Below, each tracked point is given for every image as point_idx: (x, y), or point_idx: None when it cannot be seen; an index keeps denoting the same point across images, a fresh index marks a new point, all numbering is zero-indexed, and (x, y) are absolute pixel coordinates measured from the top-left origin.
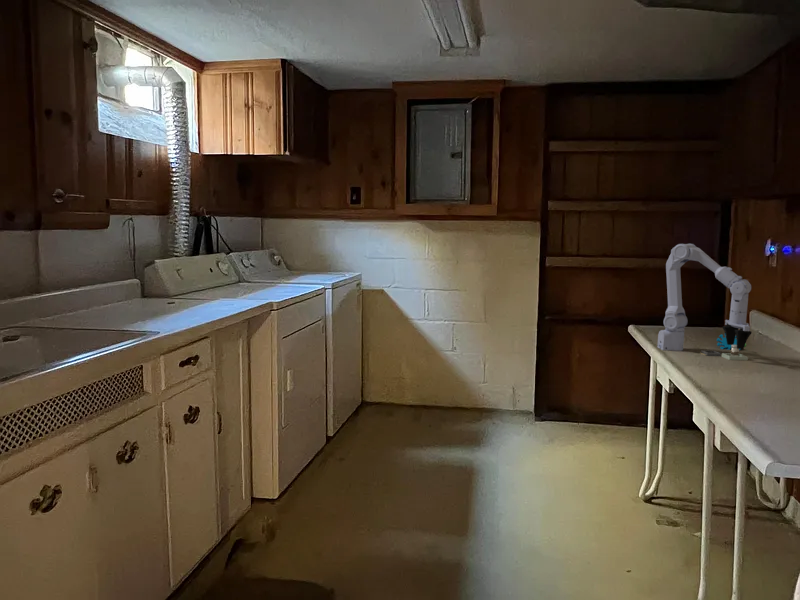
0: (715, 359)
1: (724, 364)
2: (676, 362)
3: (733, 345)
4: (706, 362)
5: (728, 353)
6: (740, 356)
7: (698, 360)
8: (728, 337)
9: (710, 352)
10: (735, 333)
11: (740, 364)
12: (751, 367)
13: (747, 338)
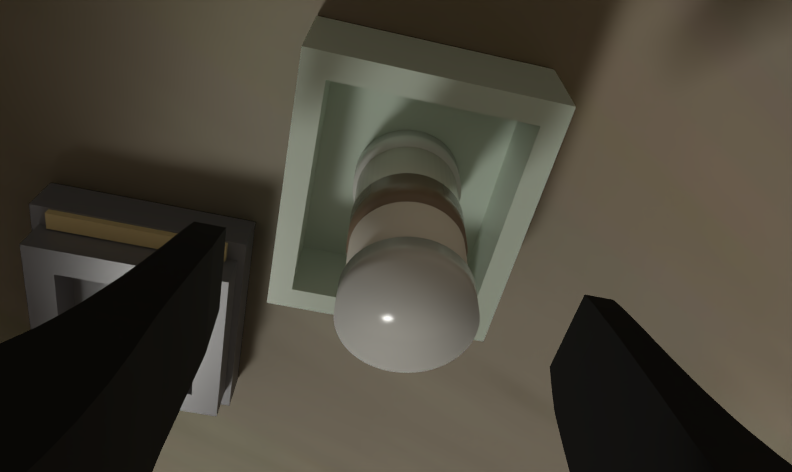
0: (269, 303)
1: (529, 371)
2: None
3: (417, 361)
4: (408, 457)
5: (284, 226)
6: (521, 206)
7: (314, 468)
8: (167, 420)
9: (68, 292)
10: (124, 381)
11: (581, 211)
12: (768, 200)
13: (784, 466)
